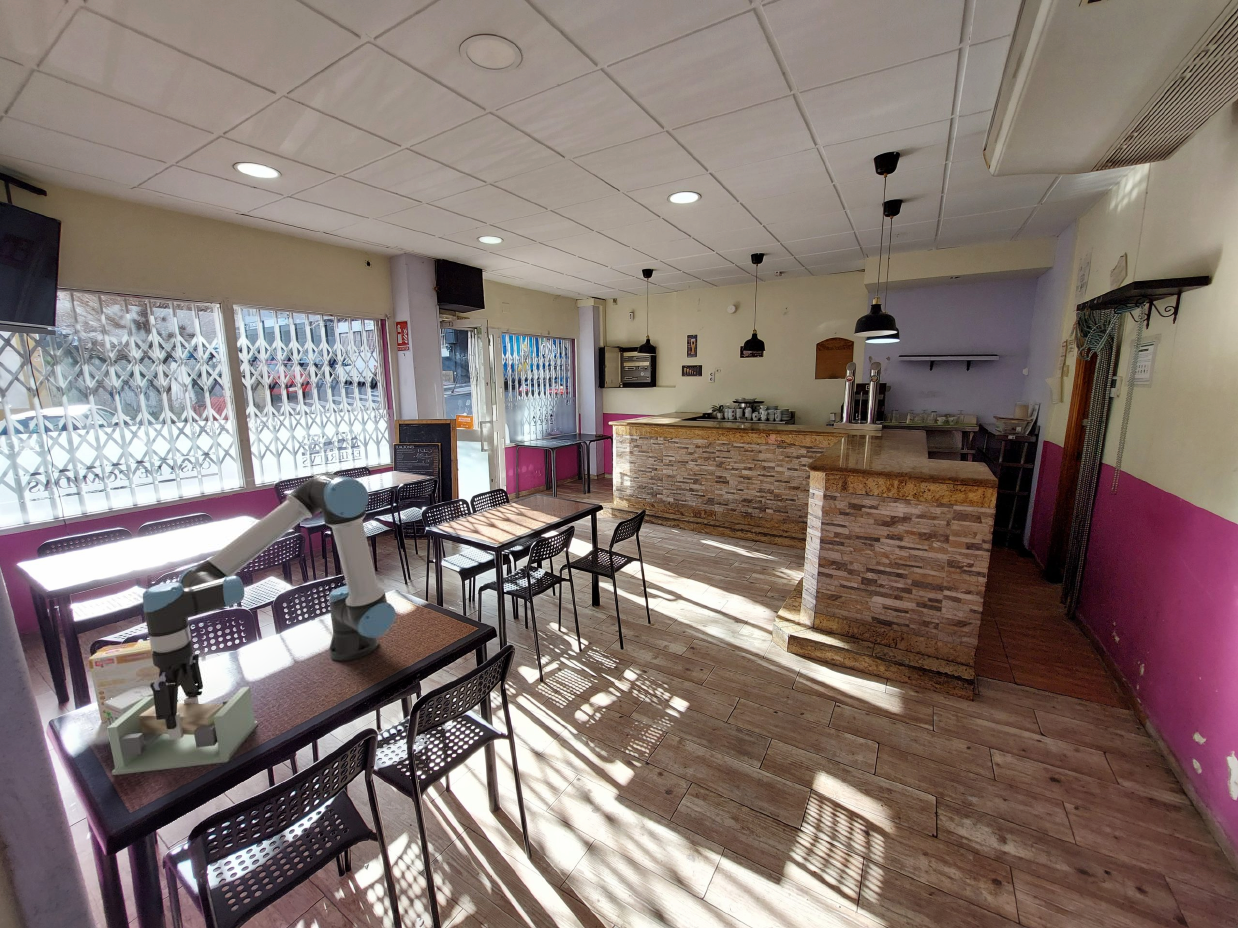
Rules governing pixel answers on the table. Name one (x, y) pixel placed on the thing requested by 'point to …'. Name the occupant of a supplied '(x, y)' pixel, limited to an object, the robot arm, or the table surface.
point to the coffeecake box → (121, 671)
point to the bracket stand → (190, 750)
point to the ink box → (125, 702)
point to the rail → (189, 716)
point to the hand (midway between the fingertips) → (185, 728)
